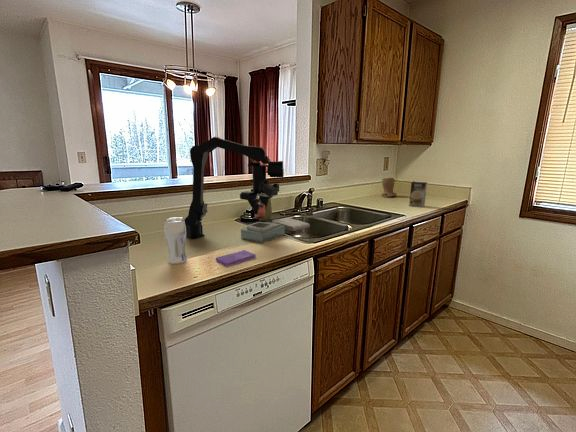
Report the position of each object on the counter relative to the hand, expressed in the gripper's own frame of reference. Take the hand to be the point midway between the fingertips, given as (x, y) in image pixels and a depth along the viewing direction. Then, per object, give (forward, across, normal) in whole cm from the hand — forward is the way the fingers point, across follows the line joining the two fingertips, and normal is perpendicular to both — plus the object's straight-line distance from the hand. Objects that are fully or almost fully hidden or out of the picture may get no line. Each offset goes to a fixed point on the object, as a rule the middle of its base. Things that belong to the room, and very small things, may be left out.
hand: (259, 213), depth 136 cm
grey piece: (+11, +4, 0) cm, 11 cm away
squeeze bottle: (+11, +26, +19) cm, 34 cm away
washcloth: (+12, +24, +1) cm, 27 cm away
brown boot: (+11, +146, -9) cm, 147 cm away
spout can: (+2, 0, 0) cm, 2 cm away
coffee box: (+11, +117, -38) cm, 124 cm away
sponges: (+12, -26, -10) cm, 30 cm away
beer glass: (+11, -39, +5) cm, 41 cm away
